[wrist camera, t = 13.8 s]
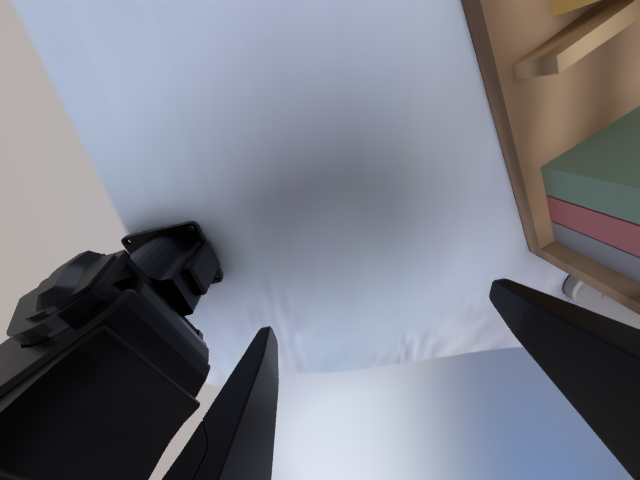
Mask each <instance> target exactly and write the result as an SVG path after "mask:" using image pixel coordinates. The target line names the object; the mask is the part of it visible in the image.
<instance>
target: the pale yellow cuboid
mask: <svg viewBox="0 0 640 480" xmlns="http://www.w3.org/2000/svg"><path fill="white" fill-rule="evenodd" d="M597 1H600V0H550V3H551V10H552V18H553V17H556V16H559V15H561V14H564V13H567V12H569V11H572V10H575V9H578V8H580V7H583V6H586V5H589V4H591V3H594V2H597Z"/></svg>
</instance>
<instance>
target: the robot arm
mask: <svg viewBox="0 0 640 480" xmlns="http://www.w3.org/2000/svg"><path fill="white" fill-rule="evenodd" d="M190 226H192V227H193V228H194V229H191V228H190ZM128 240H129V241H131V243H130V242H129V241H128ZM121 241H122V244H123V245H124V247H125V248H126V249H127V251H128V252H129V253H128V252H127V251H126V250H122V251H119V252H116V253H114V254H109V255H105V254H99V253H95V252H92V251H86V252H83V253H80V254H78V255H77V256H75V257H74V258H72V259H71V260H70V261H68V262H67V263H65V264H63V265H62V266H61V267H59V268H58V269H57V270H55V271H54V272H53V273H52V274H51V275H50V277H49V278H47V279H45V280H44V281H42V282H41V283H40V285H39V286H38V287H37V288H36V289H34V290H33V291H31V292H29V293H28V294H26V295H24V296H23V297H22V298H20V299H19V302H18V304H17V307H16V309H15V312H14V314H13V317H12V320H11V322H10V325H9V327H8V330H7V335H8V336H10V338H9V339H8V340H6V341H5V342H4V343H2V344H1V345H0V480H148V479H149V478H150V476H151V474H152V472H153V470H154V469H155V467H156V465H157V463H158V461H159V459H160V458H161V456H162V454H163V452H164V451H165V449H166V447H167V446H168V444H169V443H170V441H171V439H172V438H173V437H174V435H175V434H176V433H177V431H178V430H179V429H180V427H181V426H182V425H183V423H184V422H185V421H186V420H187V419H188V418H189V417H190V416H191V415H192V414H193V413H194V412H195V411H196V410H197V409H198V408H199V406H200V402H198V401H197V400H196V399H195V398H196V397H197V395H198V393H199V391H200V389H201V388H202V386H203V384H204V382H205V381H206V378H207V376H208V373H209V370H210V365H209V364H208V357H209V350H208V348H207V346H206V344H205V342H204V341H203V334H202V333H201V332H200V330H197V329H196V328H195V327H194V326H193V325H192V324H191V323H190V322H189V321H188V320H187V319H186V318H185V316H186V315H191V314H193V312H194V310H195V308H196V306H197V304H198V302H199V300H200V298H201V295H205V294H206V292H207V290H208V288H209V286H210V284H213V283H217V282H221V281H222V279H223V274H222V272H221V270H220V268H219V265H220V264H219V262H218V260H217V258H216V256H215V254H214V252H213V250H212V248H211V246H210V244H209V243H208V242H206V240H205V238H204V236H203V234H202V232H201V230H200V228H199V226H198V224H197V223H195V222H192V221H191V222H186V223H181V224H177V225H172V226H167V227H163V228H158V229H154V230H149V231H145V232H140V233H136V234H131V235H127V236H125V237H124V238H123V239H122V240H121ZM216 276H218V277H219V278H217V277H216ZM489 297H490V300H491V302H492V304H493V305H494V307H495V308H496V309H497V311H498V312H499V314H500V315H501V317H502V318H503V320H504V321H505V323H506V324H507V326H508V327H509V328H510V330H511V331H512V333H513V334H514V335H515V337H516V338H517V339H518V341H519V342H520V343H521V344H522V345H523V347H524V348H525V349H526V350H527V351H528V353H529V354H530V355H531V356H532V357H533V359H534V360H535V361H536V362H537V363H538V365H539V366H540V367H541V368H542V369H543V371H544V372H545V373H546V374H547V375H548V377H549V378H550V379H551V380H552V381H553V383H554V384H555V385H556V386H557V388H558V389H559V390H560V391H561V392H562V394H563V395H564V396H565V397H566V398H567V399H568V401H569V402H570V403H571V404H572V406H573V407H574V408H575V409H576V410H577V411H578V413H579V414H580V415H581V416H582V417H583V419H584V420H585V421H586V422H587V424H588V425H589V426H590V427H591V428H592V430H593V431H594V432H595V433H596V434H597V436H598V437H599V438H600V439H601V440H602V442H603V443H604V444H605V445H606V446H607V448H608V449H609V450H610V451H611V452H612V454H613V455H614V456H615V457H616V458H617V460H618V461H619V462H620V463H621V464H622V466H623V467H624V468H625V469H626V471H627V472H628V473H629V474H630V475H631V477H632V478H633V479H634V480H640V329H638V328H635V327H632V326H630V325H627V324H624V323H622V322H619V321H617V320H614V319H611V318H609V317H606V316H603V315H601V314H598V313H595V312H593V311H590V310H588V309H585V308H582V307H580V306H577V305H574V304H572V303H569V302H566V301H564V300H561V299H559V298H556V297H553V296H551V295H548V294H545V293H543V292H540V291H538V290H535V289H532V288H530V287H527V286H524V285H522V284H519V283H516V282H514V281H511V280H509V279H505V278H503V279H498V280H494V281H493V282H492V286H491V290H490V294H489ZM278 384H279V379H278V344H277V339H276V337H275V334H274V332H273V330H272V328H271V327H270V326H269V327H264V328H261V329H260V330H259V331H258V333H257V334H256V336H255V338H254V339H253V341H252V342H251V344H250V345H249V347H248V349H247V350H246V352H245V353H244V355H243V356H242V358H241V360H240V361H239V363H238V364H237V366H236V367H235V369H234V371H233V372H232V374H231V375H230V377H229V378H228V380H227V382H226V383H225V385H224V386H223V388H222V390H221V391H220V393H219V394H218V396H217V397H216V399H215V401H214V402H213V404H212V405H211V407H210V409H209V410H208V412H207V413H206V415H205V416H204V418H203V421H201V423H200V424H199V426H198V427H197V429H196V430H195V432H194V433H193V435H192V437H191V438H190V440H189V441H188V443H187V444H186V446H185V447H184V449H183V450H182V452H181V453H180V455H179V456H178V457H177V459H176V460H175V462H174V463H173V464H172V466H171V467H170V469H169V470H168V471H167V473H166V474H165V476H164V477H163V478H162V480H271V476H272V475H271V474H272V463H273V450H274V438H275V437H274V436H275V425H276V424H275V423H276V411H277V399H278Z"/></svg>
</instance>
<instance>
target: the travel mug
mask: <svg viewBox="0 0 640 480" xmlns="http://www.w3.org/2000/svg"><path fill="white" fill-rule="evenodd" d="M564 293H565V294H566V296H568V297H569V298H571V299H572V300H574V301H575V302H577V303H579V304H580V305H581V306H583V307H584V308H586V309H588V310H590V311H593V312H595V313H598V314H601V315H603V316H606V317H609V318H611V319H614V320H617V321H619V322H622V323H624V324H627V325H630V326H632V327H635V328H638V329H640V315H639V314H637V313H635V312H633V311H632V310H630V309H628V308H627V307H625V306H623V305H621V304H620V303H618V302H616V301H615V300H613V299H611V298H609V297H608V296H606V295H604V294H602V293H601V292H599V291H597V290H596V289H594V288H592V287H590V286H589V285H587V284H585V283H584V282H582V281H580V280H578V279H577V278H575V277H573V276H571V275H570V276H569V277H568V279H567V280H566V282H565V285H564Z"/></svg>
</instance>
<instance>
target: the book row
mask: <svg viewBox="0 0 640 480" xmlns="http://www.w3.org/2000/svg"><path fill="white" fill-rule="evenodd" d="M541 172H542V178H543V183H544V188H545V193H546V195H547V196H546V198H547V204H548V209H549V214H550V219H551V220H552V221H551V224H552V229H553V235H554V240H555V241H556V242H558V243H560V244H562V245H564V246H566V247H568V248H570V249H572V250H574V251H576V252H578V253H580V254H582V255H584V256H586V257H588V258H590V259H592V260H594V261H597V262H599V263H601V264H603V265H605V266H607V267H609V268H611V269H613V270H615V271H617V272H619V273H621V274H623V275H625V276H627V277H629V278H631V279H633V280H636V281H638V282H640V106H639V107H637V108H635V109H634V110H632V111H631V112H629V113H627V114H626V115H624V116H622V117H621V118H619V119H618V120H616V121H614V122H613V123H611V124H610V125H608V126H606V127H605V128H603V129H601V130H600V131H598V132H597V133H595V134H593V135H592V136H590V137H589V138H587V139H585V140H584V141H582V142H580V143H579V144H577V145H576V146H574V147H572V148H571V149H569V150H567V151H566V152H564V153H563V154H561V155H559V156H558V157H556V158H555V159H553V160H551V161H550V162H548V163H546V164H545V165H543V166H542V167H541Z"/></svg>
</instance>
